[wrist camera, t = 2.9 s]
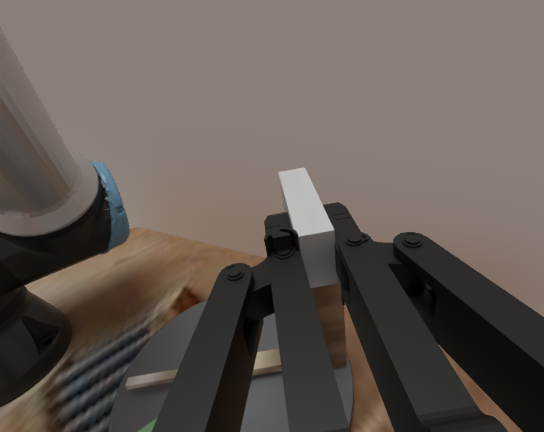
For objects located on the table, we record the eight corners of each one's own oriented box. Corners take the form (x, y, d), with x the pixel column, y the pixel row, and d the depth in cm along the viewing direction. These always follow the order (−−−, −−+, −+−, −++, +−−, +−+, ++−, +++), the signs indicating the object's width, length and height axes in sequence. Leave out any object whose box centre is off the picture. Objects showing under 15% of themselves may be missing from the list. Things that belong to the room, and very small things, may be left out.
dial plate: (80, 397, 37) (74, 388, 36) (246, 274, 52) (243, 266, 51) (204, 664, 20) (197, 660, 19) (400, 368, 34) (401, 358, 34)
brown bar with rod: (125, 414, 33) (30, 283, 24) (138, 370, 37) (63, 245, 28) (349, 375, 33) (342, 229, 24) (337, 335, 37) (327, 198, 28)
